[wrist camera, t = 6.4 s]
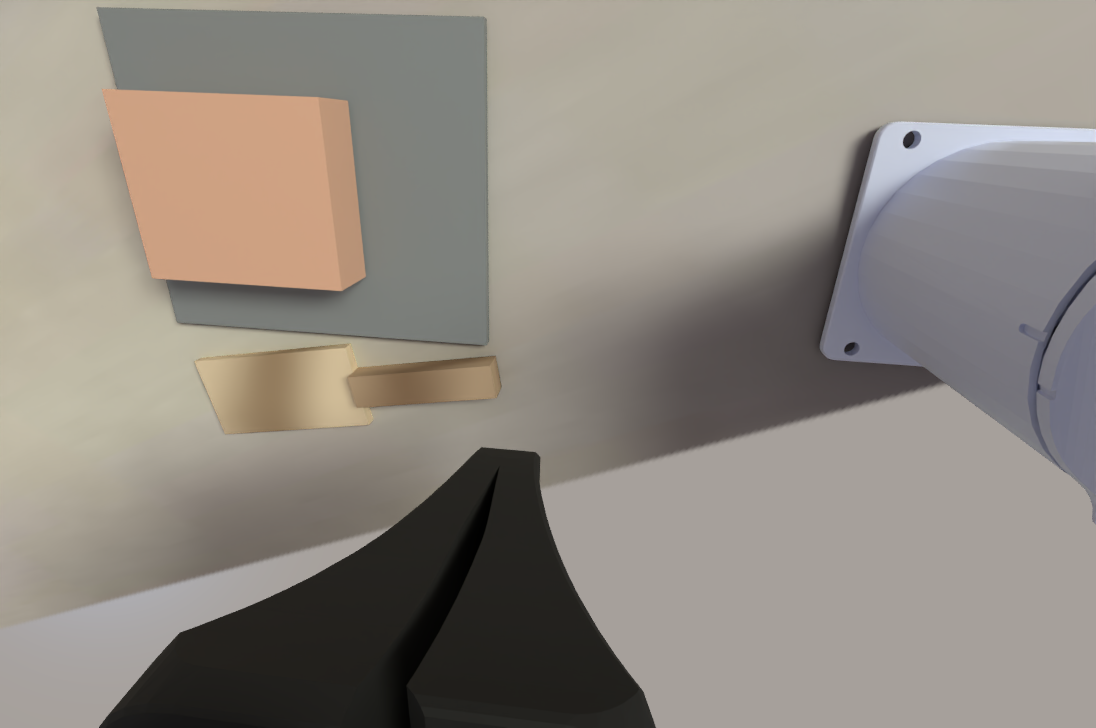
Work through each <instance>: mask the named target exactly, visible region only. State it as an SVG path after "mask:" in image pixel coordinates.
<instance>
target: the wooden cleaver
mask: <svg viewBox="0 0 1096 728" xmlns="http://www.w3.org/2000/svg"><path fill="white" fill-rule="evenodd" d="M194 362H195V364H196V367H197V369H198V371H199V374H200V376H201V378H202V381H203V383H204V385H205V388H206V390H207V393H208V395H209V397H210V400H211V402H212V404H213V407H214V409H215V411H216V414H217V416H218V418H219V421H220V423H221V425H222V428H223V430H224V432H225V434H235V433H251V432H266V431H282V430H297V429H313V428H328V427H344V426H359V425H369V424H370V423H371V422H372V420H373V417H372V413H371V410H370V407H377V406H391V405H406V404H420V403H434V402H448V401H462V400H477V399H491V398H497V396H498V394H499V391H500V389H501V382H500V377H499V372H498V367H497V361H496V356H490V357H478V358H466V359H454V360H442V361H430V362H418V363H406V364H394V365H383V366H372V367H360V368H358V366H357V363H356V360H355V356H354V353H353V350H352V346H351V344H341V345H330V346H320V347H310V348H299V349H289V350H279V351H268V352H258V353H248V354H237V355H227V356H216V357H206V358H200V359H198V360H196V361H194Z"/></svg>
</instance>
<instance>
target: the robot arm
mask: <svg viewBox="0 0 1096 728" xmlns="http://www.w3.org/2000/svg"><path fill="white" fill-rule="evenodd" d="M910 131H911V132H913V134H914V135H915V138H914V142H913V144H912V145H911V146H909V147H908V148H905V147H904V145H903V138H904V137H905V135H906V134H907V133H909V132H910ZM851 342H855V346H854V348H853V349H852V350H850V351H847V352H845V351H844V348H845V346H846V345H847V344H848V343H851ZM820 350H821V352H822V353H823V355H824V356H826V357H827V358H828V359H831V360H840V361H854V362H867V363H881V364H895V365H909V366H923V367H925V368H926V369H927V370H929V371H930V372H931V373H933V374H934V375H935V376H937V377H938V378H939V379H941V380H942V381H943V382H945V383H946V384H947V385H949V386H950V387H951V388H953V389H954V390H955V391H957V392H958V393H960V394H961V395H962V396H964V397H965V398H966V399H967V400H969V401H970V402H972V403H973V404H974V405H975V406H977V407H978V408H980V409H981V410H982V411H984V412H985V413H986V414H988V415H989V416H990V417H992V418H993V419H994V420H996V421H997V422H998V423H1000V424H1001V425H1002V426H1004V427H1005V428H1006V429H1008V430H1009V431H1010V432H1012V433H1013V434H1014V435H1016V436H1017V437H1019V438H1020V439H1021V440H1022V441H1024V442H1025V443H1026V444H1028V445H1029V446H1030V447H1032V448H1033V449H1034V450H1036V451H1037V452H1038V453H1040V454H1041V455H1042V456H1044V457H1045V458H1047V459H1048V460H1049V461H1051V462H1052V463H1053V464H1055V465H1056V466H1057V467H1059V468H1060V469H1061V470H1063V471H1064V472H1066V473H1067V474H1069V475H1070V476H1071V477H1072V478H1073V479H1075V480H1076V481H1077V482H1078V483H1079V484H1080V485H1081V486H1082V487H1083V488H1084V489H1085V490H1086V492H1087V493H1088V495H1089V497H1090V499H1091V502H1092V506H1093V515H1092V520H1093V522H1094V523H1095V524H1096V129H1082V128H1056V127H1029V126H1003V125H976V124H950V123H924V122H890V123H887V124H885V125H883V126H881V127H880V128H879V129H878V131H877V132H876V134H875V136H874V138H873V142H872V145H871V149H870V153H869V157H868V161H867V165H866V168H865V172H864V176H863V180H862V184H861V188H860V191H859V195H858V199H857V203H856V207H855V211H854V214H853V218H852V222H851V226H850V230H849V234H848V237H847V241H846V245H845V249H844V253H843V257H842V260H841V264H840V268H839V272H838V276H837V280H836V284H835V287H834V291H833V295H832V299H831V303H830V307H829V310H828V314H827V318H826V322H825V326H824V330H823V333H822V337H821V341H820ZM539 480H540V456H539V455H538V454H537V453H536V452H528V451H516V450H505V449H494V448H483V447H481V448H480V449H479V450H478V451H476V452H475V453H474V454H473V455H472V456H471V457H470V458H469V459H468V460H467V461H466V462H465V463H464V464H463V465H462V466H461V467H460V468H459V469H458V470H457V471H456V472H455V473H454V474H453V475H452V476H451V477H450V478H449V479H448V480H447V481H446V482H445V483H444V484H443V485H442V486H441V487H439V488H438V489H437V490H436V491H435V492H434V493H433V494H432V495H431V496H430V497H429V498H427V499H426V500H425V501H424V502H423V503H422V504H420V505H419V506H418V507H417V508H415V509H414V510H413V511H412V512H410V513H409V514H408V515H407V516H406V517H404V518H403V519H402V520H401V521H399V522H398V523H397V524H396V525H394V526H393V527H392V528H390V529H389V530H388V531H386V532H385V533H383V534H382V535H381V536H379V537H378V538H376V539H375V540H373V541H372V542H370V543H369V544H367V545H366V546H364V547H363V548H361V549H359V550H358V551H356V552H355V553H353V554H351V555H349V556H348V557H346V558H344V559H342V560H341V561H339V562H337V563H335V564H334V565H332V566H330V567H328V568H326V569H325V570H323V571H321V572H319V573H318V574H316V575H314V576H312V577H310V578H308V579H306V580H304V581H302V582H300V583H298V584H296V585H294V586H292V587H290V588H288V589H286V590H284V591H282V592H280V593H277V594H275V595H273V596H271V597H269V598H266V599H264V600H262V601H260V602H258V603H255V604H253V605H251V606H248V607H246V608H244V609H241V610H238V611H236V612H233V613H231V614H228V615H225V616H223V617H220V618H218V619H215V620H213V621H210V622H207V623H205V624H202V625H200V626H197V627H195V628H192V629H189V630H186V631H183V632H181V633H179V634H178V635H177V636H176V637H175V639H174V640H173V641H172V642H171V643H170V644H169V645H168V646H167V647H166V648H165V649H164V650H163V652H162V653H161V654H160V655H159V656H158V657H157V658H156V659H155V661H154V662H153V663H152V664H151V665H150V667H149V668H148V669H147V670H146V671H145V672H144V674H143V675H142V676H141V677H140V678H139V679H138V681H137V682H136V683H135V684H134V685H133V687H132V688H131V689H130V690H129V691H128V692H127V694H126V695H125V696H124V697H123V698H122V700H121V701H120V702H119V703H118V704H117V705H116V707H115V708H114V709H113V710H112V711H111V713H110V714H109V715H108V716H107V717H106V719H105V720H104V721H103V723H102V724H101V725H100V727H99V728H656V727H655V724H654V721H653V718H652V715H651V712H650V709H649V706H648V704H647V701H646V698H645V695H644V692H643V691H642V689H641V688H640V687H639V686H638V684H637V683H636V682H635V681H634V679H633V678H632V677H631V675H630V674H629V673H628V672H627V670H626V669H625V667H624V666H623V665H622V664H621V662H620V661H619V659H618V658H617V657H616V655H615V654H614V652H613V651H612V649H611V648H610V647H609V645H608V643H607V642H606V640H605V639H604V638H603V636H602V635H601V633H600V632H599V630H598V628H597V627H596V625H595V623H594V621H593V620H592V618H591V616H590V615H589V613H588V611H587V610H586V608H585V606H584V604H583V603H582V601H581V599H580V597H579V596H578V594H577V592H576V590H575V588H574V586H573V584H572V582H571V580H570V578H569V576H568V573H567V571H566V569H565V567H564V564H563V562H562V560H561V557H560V555H559V553H558V550H557V547H556V545H555V542H554V539H553V536H552V533H551V530H550V527H549V524H548V520H547V517H546V513H545V508H544V504H543V500H542V496H541V490H540V483H539Z"/></svg>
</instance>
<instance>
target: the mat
mask: <svg viewBox="0 0 1096 728" xmlns="http://www.w3.org/2000/svg"><path fill="white" fill-rule="evenodd" d="M96 8H97V11H98V15H99V19H100V23H101V27H102V31H103V35H104V39H105V43H106V47H107V51H108V54H109V58H110V62H111V66H112V70H113V74H114V78H115V82H116V86H117V90H141V91H168V92H195V93H221V94H248V95H275V96H301V97H321V98H330V99H338V100H346V101H348V106H349V116H350V126H351V136H352V146H353V155H354V165H355V175H356V185H357V195H358V205H359V214H360V224H361V234H362V244H363V254H364V264H365V273H366V277H365V278H363V279H361V280H360V281H358V282H356V283H355V284H353V285H351V286H349V287H348V288H346V289H344V290H343V291H333V290H318V289H303V288H289V287H274V286H259V285H244V284H229V283H214V282H200V281H185V280H170V279H166V281H167V285H168V289H169V293H170V297H171V301H172V305H173V309H174V313H175V316H176V320H177V322H179V323H192V324H206V325H219V326H232V327H246V328H259V329H273V330H286V331H300V332H313V333H327V334H340V335H354V336H367V337H381V338H394V339H408V340H421V341H435V342H448V343H462V344H475V345H487V344H488V342H489V292H488V159H487V26H486V18H484V17H469V16H428V15H387V14H346V13H306V12H265V11H224V10H183V9H142V8H101V7H96Z"/></svg>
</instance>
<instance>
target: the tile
mask: <svg viewBox="0 0 1096 728" xmlns="http://www.w3.org/2000/svg"><path fill="white" fill-rule="evenodd" d="M102 91H103V95H104V99H105V103H106V106H107V110H108V114H109V118H110V122H111V125H112V129H113V133H114V137H115V140H116V144H117V148H118V152H119V155H120V159H121V163H122V167H123V170H124V174H125V178H126V182H127V185H128V189H129V193H130V197H131V200H132V204H133V208H134V212H135V215H136V219H137V223H138V227H139V230H140V234H141V238H142V242H143V245H144V249H145V253H146V257H147V261H148V264H149V268H150V272H151V276H152V278H155V279H170V280H185V281H200V282H214V283H229V284H244V285H259V286H274V287H289V288H303V289H318V290H333V291H343V290H344V289H346V288H348V287H349V286H351V285H353V284H355V283H356V282H358V281H360V280H361V279H363V278H365V277H366V273H365V264H364V254H363V244H362V234H361V224H360V214H359V205H358V195H357V185H356V175H355V165H354V155H353V146H352V136H351V126H350V116H349V106H348V101H346V100H338V99H330V98H321V97H301V96H275V95H248V94H221V93H195V92H168V91H141V90H115V89H102Z"/></svg>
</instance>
